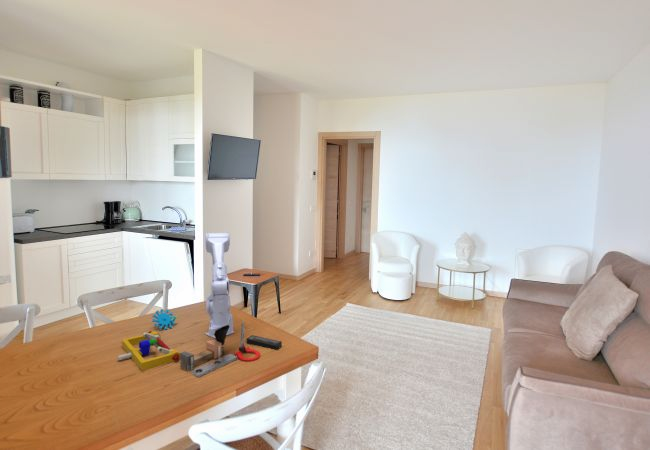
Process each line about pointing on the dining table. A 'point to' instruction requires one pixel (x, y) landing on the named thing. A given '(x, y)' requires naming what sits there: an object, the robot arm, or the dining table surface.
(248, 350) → the tow hook
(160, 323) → the gear
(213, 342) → the block
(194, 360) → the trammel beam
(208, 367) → the steel strip
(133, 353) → the yellow frame mechanism
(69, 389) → the dining table surface
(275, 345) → the multiport hub
